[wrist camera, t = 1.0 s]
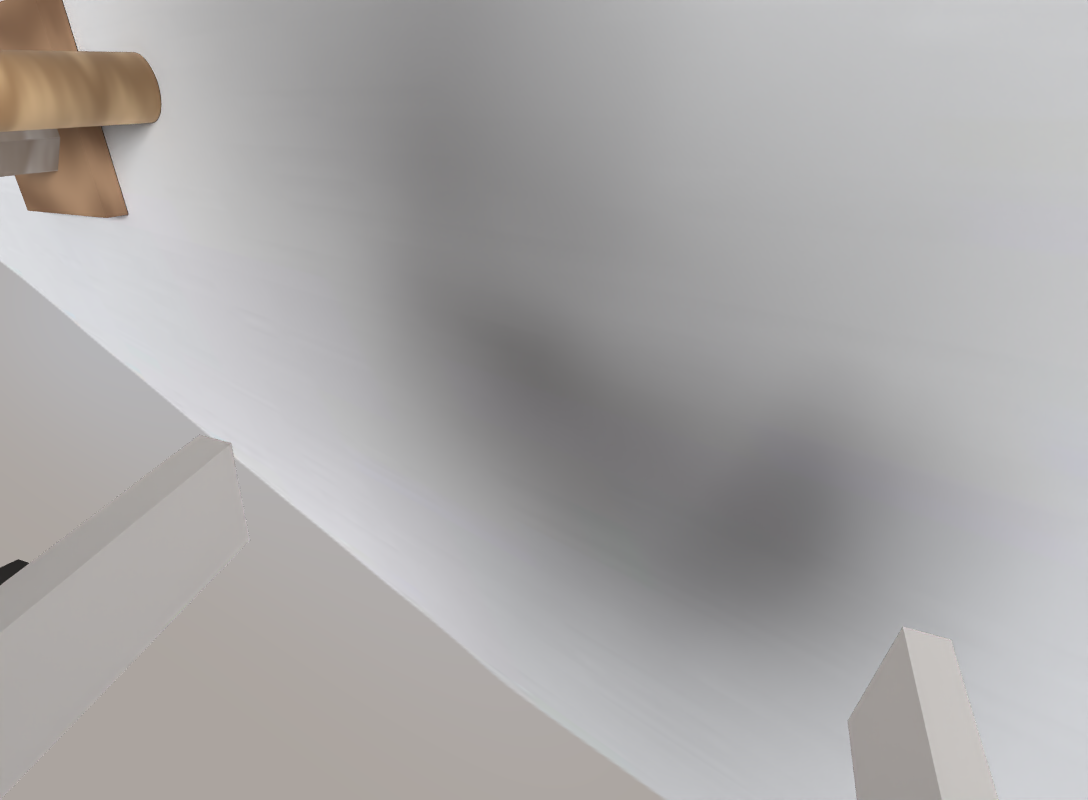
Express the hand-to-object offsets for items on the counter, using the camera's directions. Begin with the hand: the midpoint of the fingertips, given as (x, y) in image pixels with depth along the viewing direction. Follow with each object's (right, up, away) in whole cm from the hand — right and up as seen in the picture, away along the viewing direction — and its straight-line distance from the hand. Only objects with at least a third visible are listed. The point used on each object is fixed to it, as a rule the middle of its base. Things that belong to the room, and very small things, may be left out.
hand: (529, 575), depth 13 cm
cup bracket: (-36, +25, +36) cm, 57 cm away
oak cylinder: (-25, +23, +28) cm, 44 cm away
